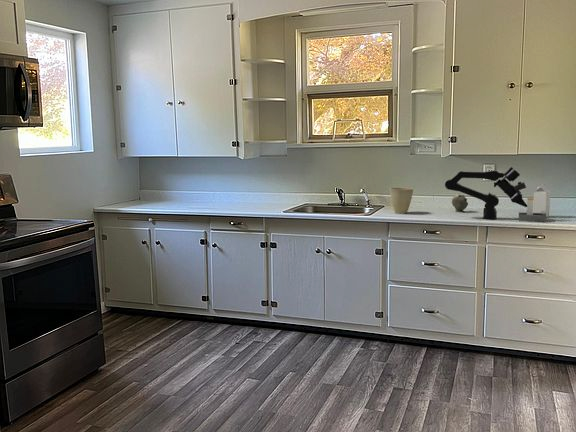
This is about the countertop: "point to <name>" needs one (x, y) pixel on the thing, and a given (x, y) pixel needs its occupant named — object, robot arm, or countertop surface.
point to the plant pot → (401, 199)
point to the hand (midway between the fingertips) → (526, 206)
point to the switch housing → (533, 217)
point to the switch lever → (530, 206)
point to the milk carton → (541, 200)
